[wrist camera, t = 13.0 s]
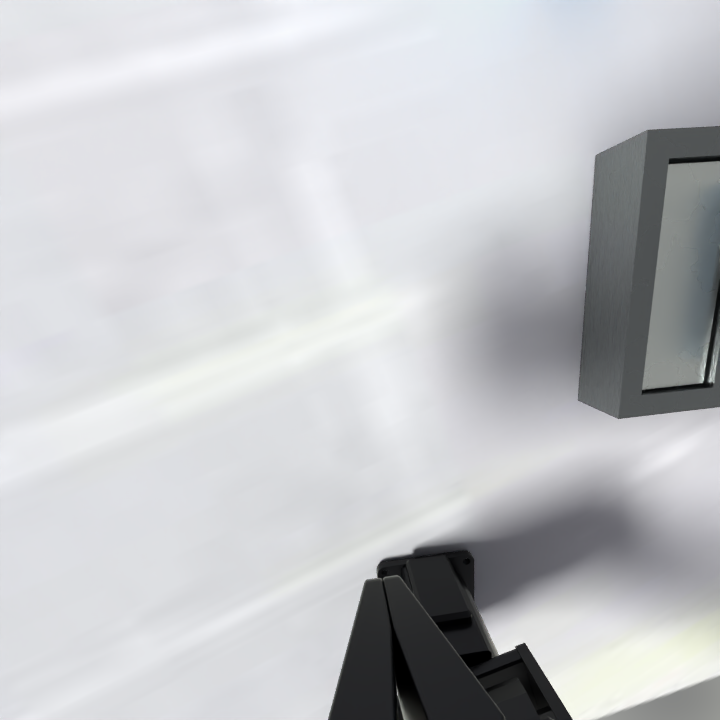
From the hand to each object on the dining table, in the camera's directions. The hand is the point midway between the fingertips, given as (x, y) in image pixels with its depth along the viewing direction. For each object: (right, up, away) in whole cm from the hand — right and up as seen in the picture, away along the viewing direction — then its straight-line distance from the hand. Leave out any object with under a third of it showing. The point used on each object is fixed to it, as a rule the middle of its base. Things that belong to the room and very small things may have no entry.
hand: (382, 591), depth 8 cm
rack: (+21, +11, +12) cm, 27 cm away
